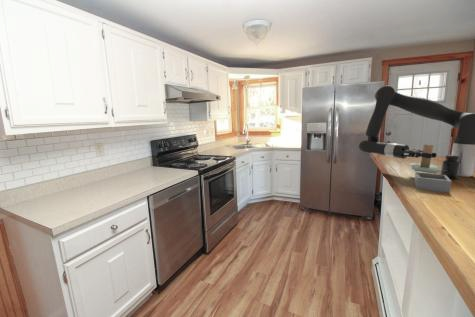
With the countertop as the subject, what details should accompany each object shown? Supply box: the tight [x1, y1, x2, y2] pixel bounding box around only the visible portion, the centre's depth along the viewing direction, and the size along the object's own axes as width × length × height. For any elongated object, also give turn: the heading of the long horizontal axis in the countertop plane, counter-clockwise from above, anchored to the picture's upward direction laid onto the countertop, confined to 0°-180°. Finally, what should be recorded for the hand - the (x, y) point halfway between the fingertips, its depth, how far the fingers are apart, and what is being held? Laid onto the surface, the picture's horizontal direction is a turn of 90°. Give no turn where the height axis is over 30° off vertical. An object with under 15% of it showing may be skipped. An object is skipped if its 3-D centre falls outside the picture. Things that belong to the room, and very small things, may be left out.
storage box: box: [413, 171, 452, 194], centre depth 103 cm, size 11×11×6 cm
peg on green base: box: [409, 143, 441, 174], centre depth 114 cm, size 11×11×13 cm
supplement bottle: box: [439, 154, 460, 181], centre depth 119 cm, size 7×7×12 cm
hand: (433, 155), depth 112 cm, fingers closed on peg on green base, 3 cm apart
